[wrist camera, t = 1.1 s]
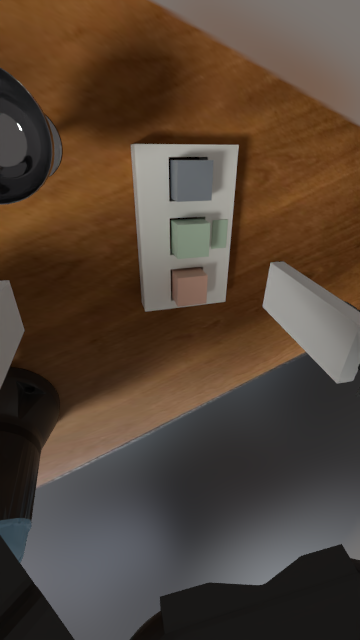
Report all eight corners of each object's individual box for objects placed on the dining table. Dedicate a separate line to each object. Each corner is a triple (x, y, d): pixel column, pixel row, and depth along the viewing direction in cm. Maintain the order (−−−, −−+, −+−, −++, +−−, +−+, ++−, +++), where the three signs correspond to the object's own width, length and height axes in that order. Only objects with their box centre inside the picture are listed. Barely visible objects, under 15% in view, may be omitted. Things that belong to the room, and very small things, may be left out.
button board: (217, 293, 46) (225, 302, 43) (141, 302, 43) (145, 312, 40) (228, 145, 36) (239, 144, 33) (130, 144, 33) (134, 143, 31)
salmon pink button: (198, 293, 42) (206, 303, 40) (171, 296, 41) (177, 306, 39) (199, 267, 40) (207, 275, 38) (171, 270, 39) (177, 278, 37)
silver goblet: (-21, 83, 28) (-111, 25, 15) (69, 112, 30) (56, 83, 18) (-17, 174, 31) (-89, 189, 18) (63, 193, 34) (49, 216, 21)
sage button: (200, 249, 39) (208, 256, 36) (171, 251, 38) (177, 259, 35) (201, 218, 37) (210, 223, 34) (170, 219, 36) (177, 225, 33)
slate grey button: (202, 197, 36) (211, 200, 33) (170, 198, 35) (177, 201, 32) (203, 159, 34) (213, 160, 31) (169, 159, 33) (177, 160, 30)
